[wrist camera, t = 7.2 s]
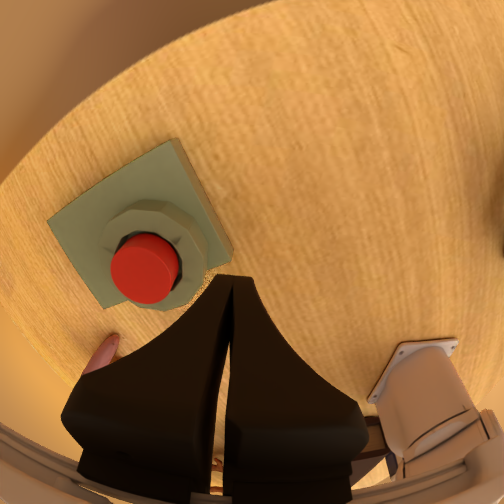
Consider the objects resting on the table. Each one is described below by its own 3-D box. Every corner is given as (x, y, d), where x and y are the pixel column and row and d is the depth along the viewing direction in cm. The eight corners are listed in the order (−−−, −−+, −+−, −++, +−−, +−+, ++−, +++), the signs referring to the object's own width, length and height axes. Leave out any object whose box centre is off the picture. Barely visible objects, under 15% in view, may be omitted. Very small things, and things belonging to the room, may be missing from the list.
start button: (159, 222, 15) (148, 235, 13) (190, 276, 16) (184, 293, 15) (111, 246, 16) (98, 261, 14) (142, 294, 17) (133, 311, 15)
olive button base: (177, 137, 16) (158, 143, 13) (238, 258, 19) (235, 287, 16) (58, 212, 18) (31, 231, 15) (117, 304, 21) (100, 332, 18)
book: (332, 480, 41) (335, 503, 36) (233, 483, 41) (232, 508, 36) (386, 414, 29) (398, 452, 24) (230, 422, 29) (227, 466, 24)
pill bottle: (388, 450, 36) (399, 495, 27) (377, 444, 34) (389, 495, 25) (416, 436, 34) (430, 482, 25) (408, 429, 32) (423, 480, 24)
